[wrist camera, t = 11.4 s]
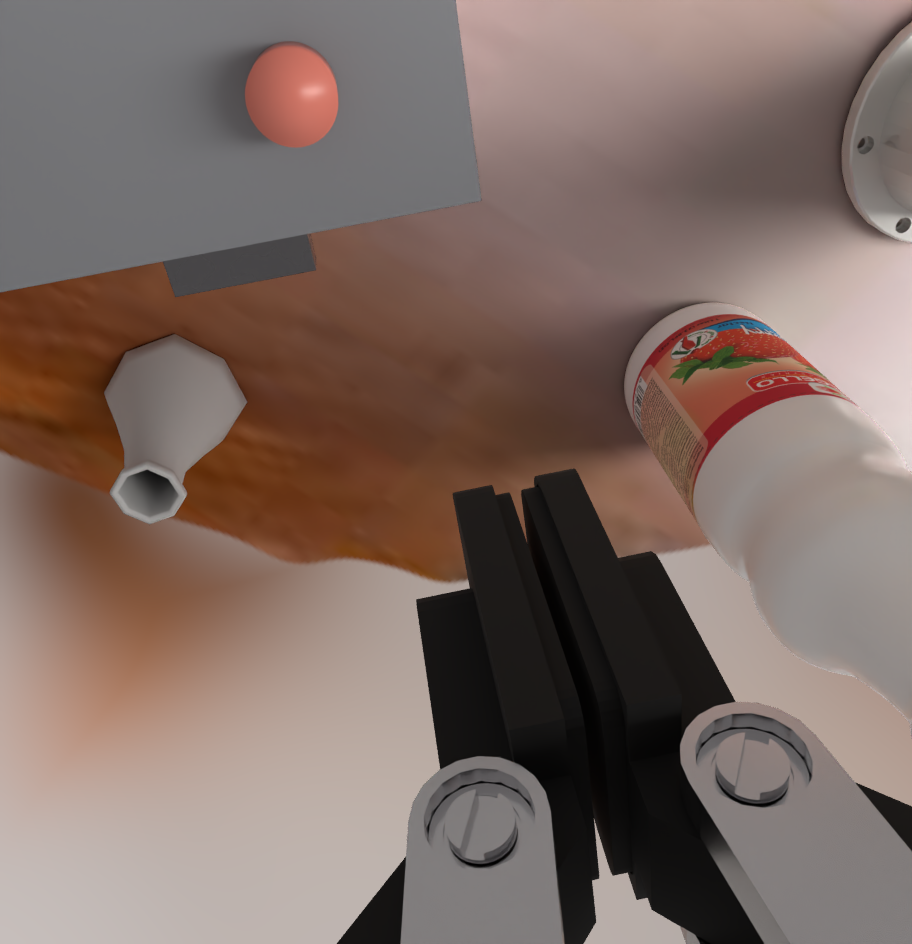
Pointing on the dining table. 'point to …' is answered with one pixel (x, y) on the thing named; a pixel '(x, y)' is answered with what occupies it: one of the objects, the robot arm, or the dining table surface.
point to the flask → (167, 421)
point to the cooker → (241, 265)
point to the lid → (220, 126)
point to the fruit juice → (785, 488)
